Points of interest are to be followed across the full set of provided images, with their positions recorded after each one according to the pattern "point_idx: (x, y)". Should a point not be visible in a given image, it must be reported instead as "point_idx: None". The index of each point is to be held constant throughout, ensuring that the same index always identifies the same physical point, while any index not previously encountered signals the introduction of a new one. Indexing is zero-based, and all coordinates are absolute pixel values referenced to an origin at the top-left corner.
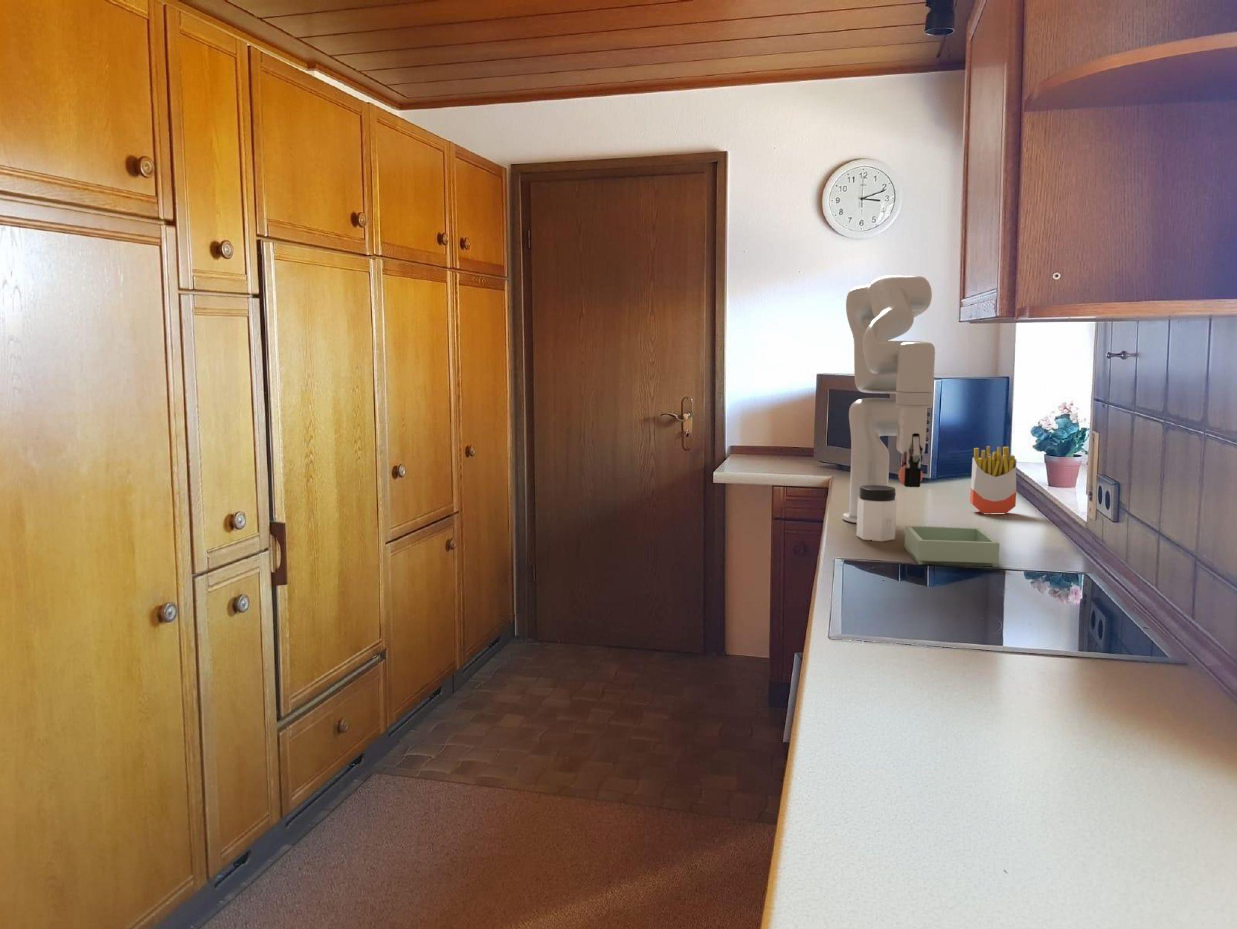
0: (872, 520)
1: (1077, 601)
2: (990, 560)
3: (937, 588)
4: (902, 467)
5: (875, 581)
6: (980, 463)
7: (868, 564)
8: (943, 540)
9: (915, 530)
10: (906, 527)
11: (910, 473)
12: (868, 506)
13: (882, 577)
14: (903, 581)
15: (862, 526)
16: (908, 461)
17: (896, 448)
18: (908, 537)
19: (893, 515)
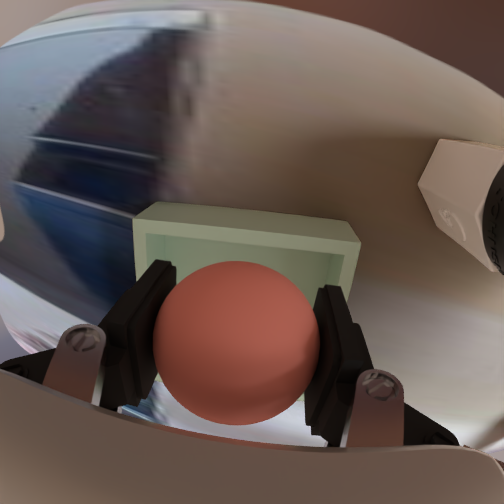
0: (455, 168)
1: (22, 346)
2: None
3: (9, 195)
4: (222, 331)
5: (27, 95)
6: None
7: (144, 83)
8: None
9: (339, 263)
10: (343, 240)
11: (103, 323)
12: (487, 163)
13: (48, 107)
14: (31, 144)
15: (458, 141)
16: (53, 365)
17: (444, 453)
18: (298, 227)
19: (464, 242)
